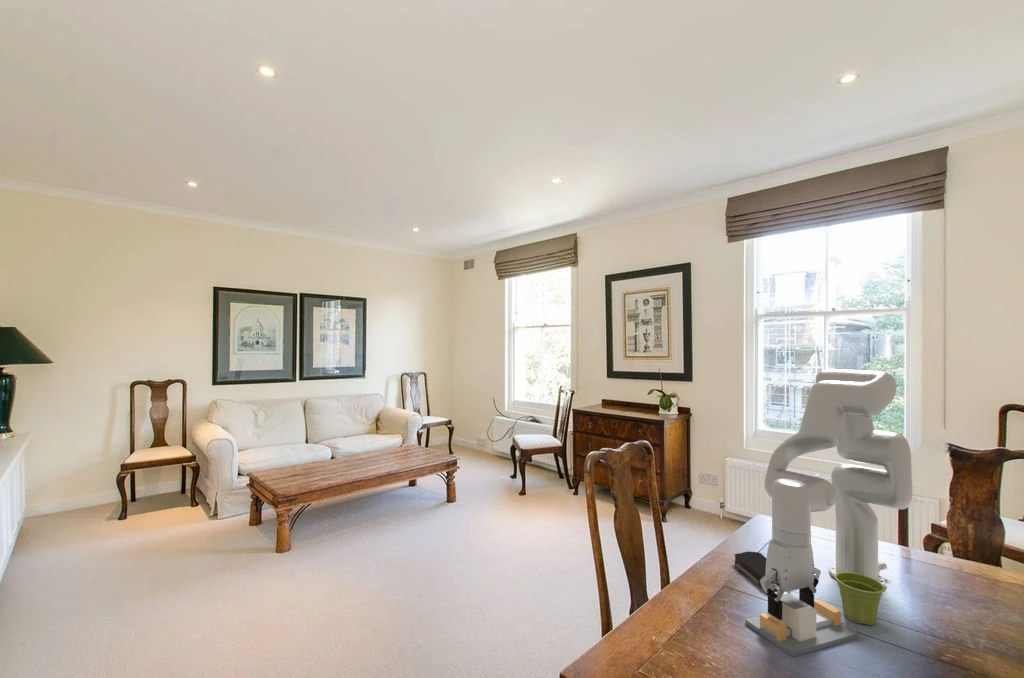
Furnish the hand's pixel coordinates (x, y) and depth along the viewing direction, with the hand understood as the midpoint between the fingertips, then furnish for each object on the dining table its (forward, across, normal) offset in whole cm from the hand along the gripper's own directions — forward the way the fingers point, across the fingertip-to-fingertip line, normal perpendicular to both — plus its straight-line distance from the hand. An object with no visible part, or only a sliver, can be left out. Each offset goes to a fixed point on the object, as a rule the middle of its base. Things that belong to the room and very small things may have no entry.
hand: (791, 612), depth 102 cm
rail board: (+5, -3, 0) cm, 5 cm away
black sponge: (+5, -16, -22) cm, 28 cm away
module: (+4, 0, 0) cm, 4 cm away
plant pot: (+5, -21, +1) cm, 22 cm away
